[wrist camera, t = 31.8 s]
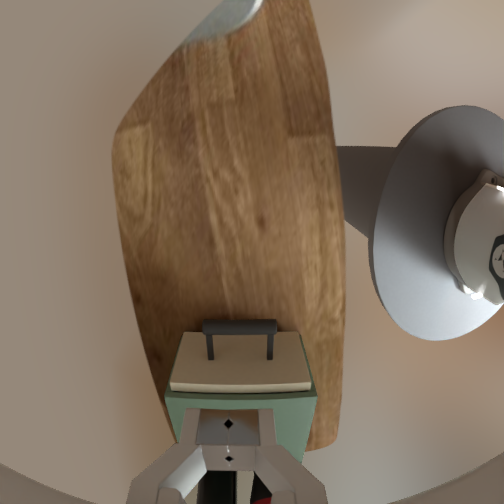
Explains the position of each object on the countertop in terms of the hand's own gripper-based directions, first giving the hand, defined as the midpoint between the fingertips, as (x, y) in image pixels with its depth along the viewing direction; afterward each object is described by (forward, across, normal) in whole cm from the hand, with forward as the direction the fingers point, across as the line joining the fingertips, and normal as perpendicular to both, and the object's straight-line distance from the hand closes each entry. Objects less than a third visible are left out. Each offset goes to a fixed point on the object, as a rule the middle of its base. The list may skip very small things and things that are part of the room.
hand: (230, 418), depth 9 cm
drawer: (+22, 0, +16) cm, 27 cm away
